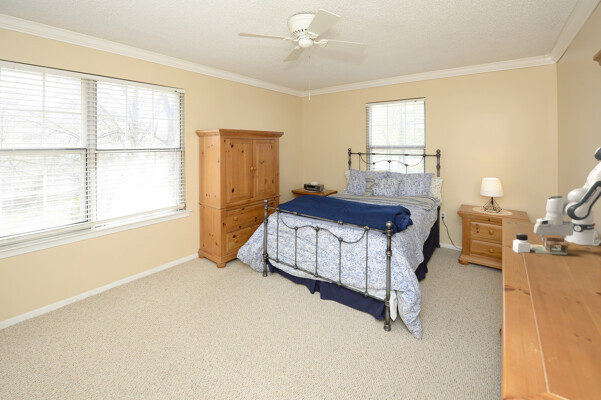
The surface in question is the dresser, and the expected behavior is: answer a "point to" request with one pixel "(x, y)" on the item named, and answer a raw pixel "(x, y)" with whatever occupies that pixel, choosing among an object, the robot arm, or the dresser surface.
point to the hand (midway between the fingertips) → (552, 241)
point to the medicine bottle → (521, 243)
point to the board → (542, 250)
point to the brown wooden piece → (556, 241)
